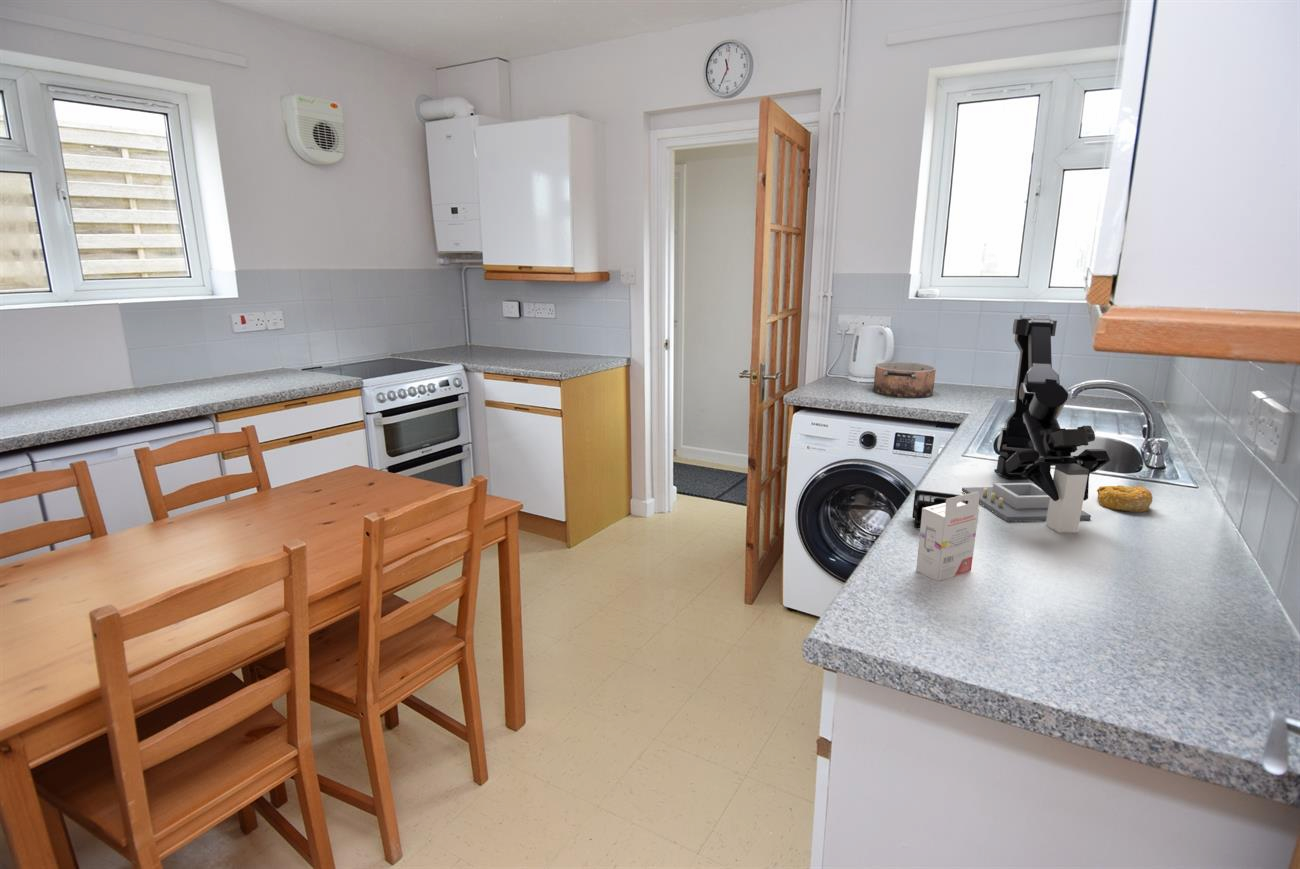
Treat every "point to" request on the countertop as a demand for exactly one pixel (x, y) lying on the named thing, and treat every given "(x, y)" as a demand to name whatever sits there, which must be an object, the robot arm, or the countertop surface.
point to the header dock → (1016, 501)
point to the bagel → (1125, 498)
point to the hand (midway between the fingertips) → (1071, 499)
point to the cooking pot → (904, 379)
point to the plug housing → (1067, 498)
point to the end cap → (928, 502)
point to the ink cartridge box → (948, 537)
